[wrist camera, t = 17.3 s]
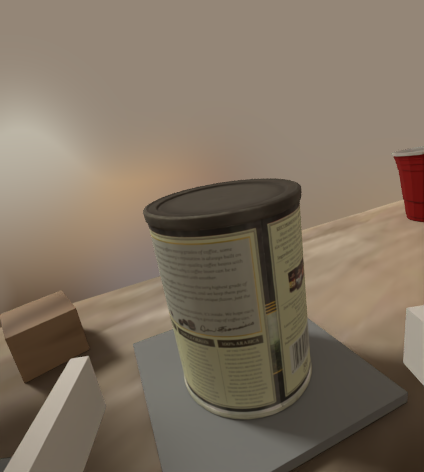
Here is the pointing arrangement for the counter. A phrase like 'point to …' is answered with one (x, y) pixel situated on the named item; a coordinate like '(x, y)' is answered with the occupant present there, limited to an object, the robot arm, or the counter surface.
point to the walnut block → (43, 334)
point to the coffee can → (236, 293)
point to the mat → (269, 427)
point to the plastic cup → (412, 180)
